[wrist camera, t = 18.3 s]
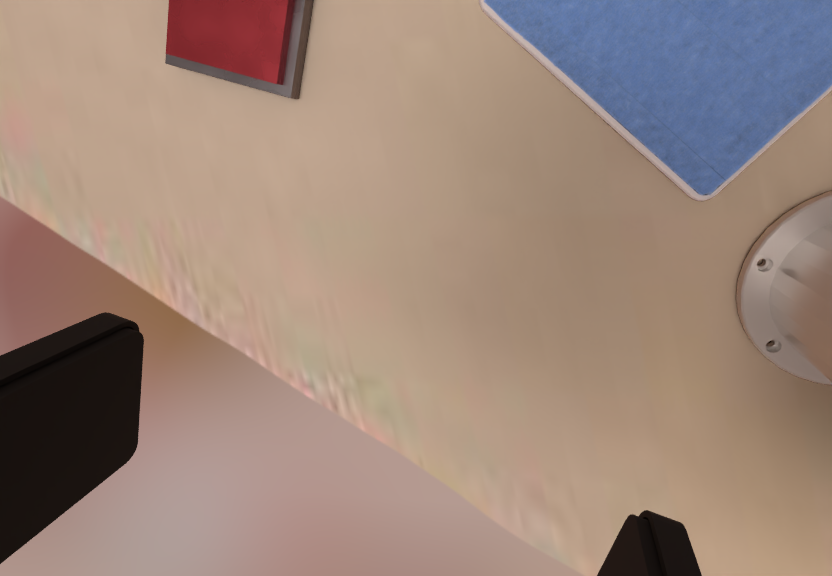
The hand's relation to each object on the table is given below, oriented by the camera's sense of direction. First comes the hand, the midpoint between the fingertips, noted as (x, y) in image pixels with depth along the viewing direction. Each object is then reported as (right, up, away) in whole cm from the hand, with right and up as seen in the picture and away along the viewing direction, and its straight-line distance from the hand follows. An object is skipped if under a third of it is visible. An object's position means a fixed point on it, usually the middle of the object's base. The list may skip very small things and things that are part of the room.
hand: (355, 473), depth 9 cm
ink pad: (-11, +22, +26) cm, 36 cm away
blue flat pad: (+16, +19, +21) cm, 33 cm away
